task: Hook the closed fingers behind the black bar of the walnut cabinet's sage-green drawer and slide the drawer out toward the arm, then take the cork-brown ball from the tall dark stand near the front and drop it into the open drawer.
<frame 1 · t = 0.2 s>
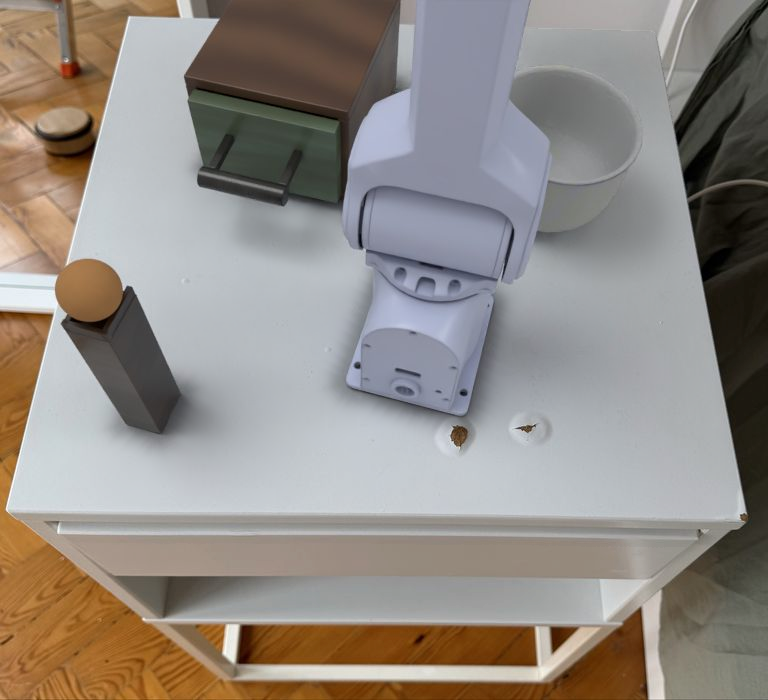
ball: (89, 290, 35), point 13 cm above the nightstand, touching stand
teacup: (518, 198, 56), on the nightstand
cabinet: (305, 125, 59), on the nightstand
drawer: (283, 117, 53), point 4 cm above the nightstand, slide at 0.0 cm
stand: (153, 408, 46), on the nightstand
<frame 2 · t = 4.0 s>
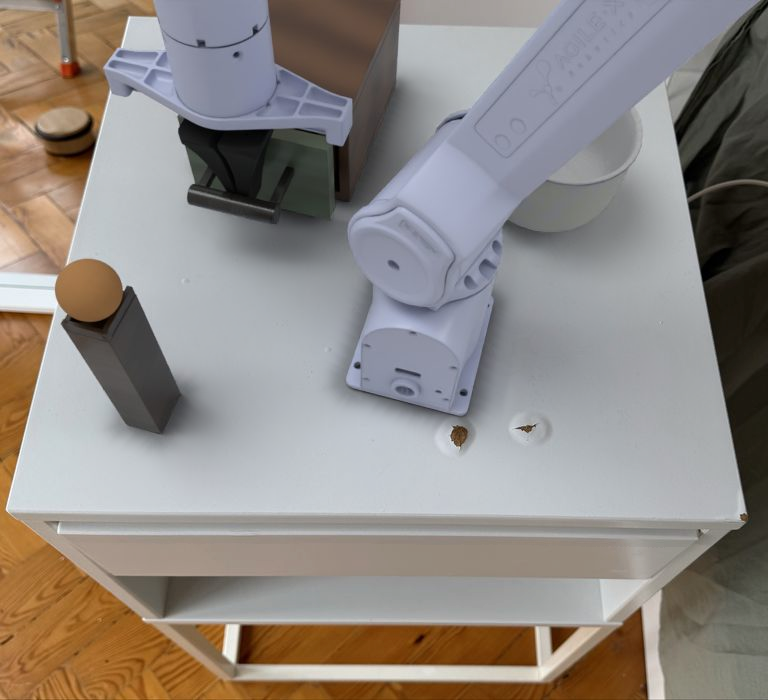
hand: (247, 194, 50), 4 cm above the nightstand, tool pointing down, fingers closed, pressing on drawer
drawer: (276, 132, 52), point 4 cm above the nightstand, slide at 1.7 cm, touching gripper
everything else where it was.
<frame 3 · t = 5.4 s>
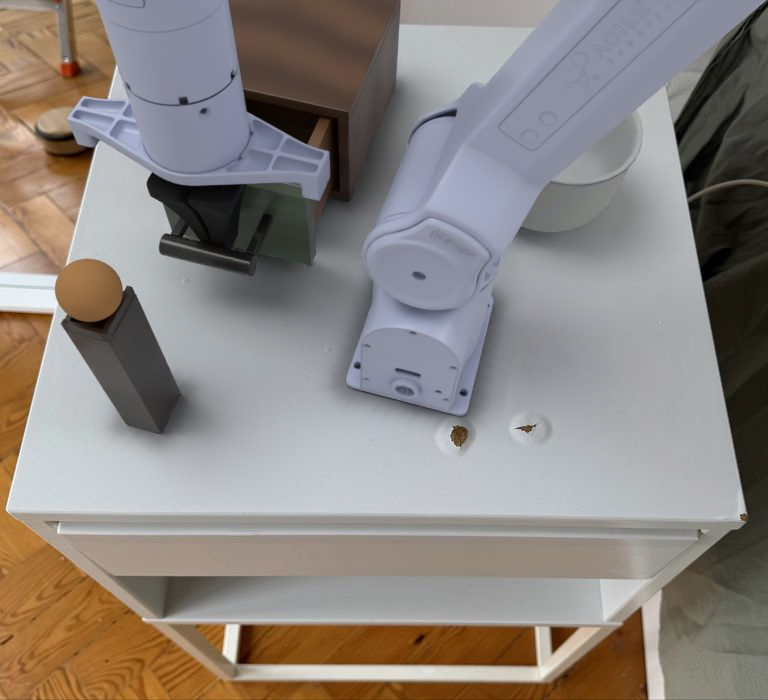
hand: (223, 242, 47), 4 cm above the nightstand, tool pointing down, fingers closed, pressing on drawer
drawer: (254, 175, 50), point 4 cm above the nightstand, slide at 6.0 cm, touching gripper
everything else where it was.
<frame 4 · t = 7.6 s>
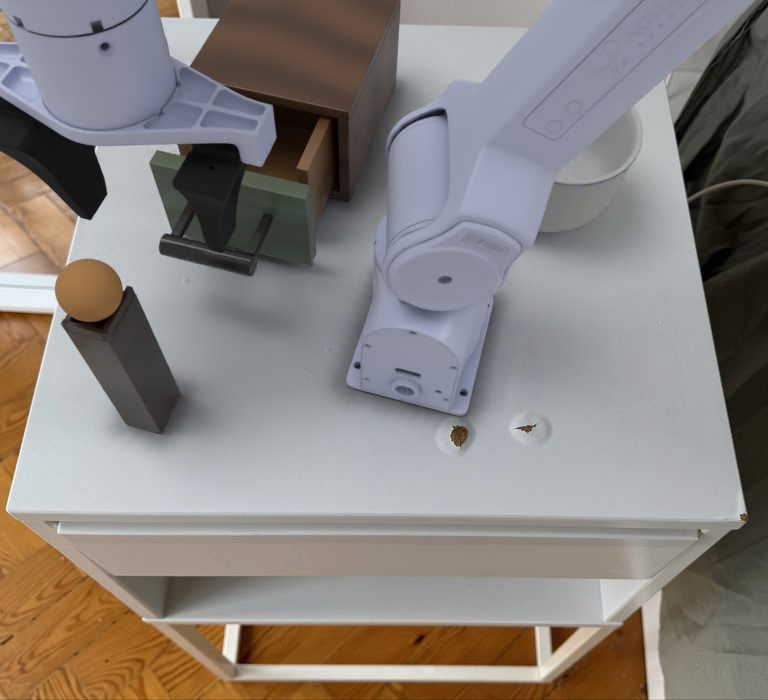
hand: (158, 222, 40), 10 cm above the nightstand, tool pointing down, fingers open, 7 cm apart
drawer: (254, 175, 50), point 4 cm above the nightstand, slide at 6.0 cm
everything else where it was.
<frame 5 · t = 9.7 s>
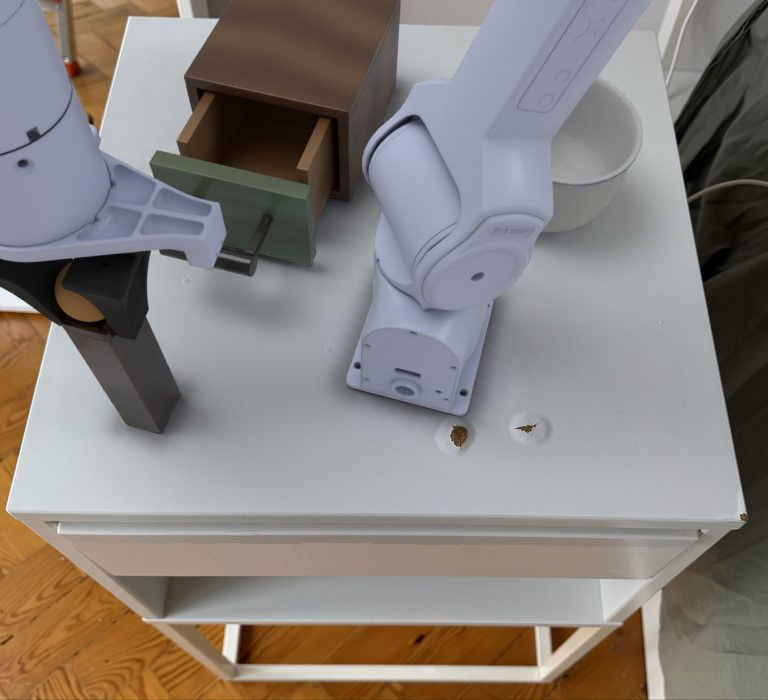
hand: (104, 316, 37), 10 cm above the nightstand, tool pointing down, fingers closed on ball, 3 cm apart
ball: (89, 290, 35), point 13 cm above the nightstand, touching gripper, stand
everything else where it was.
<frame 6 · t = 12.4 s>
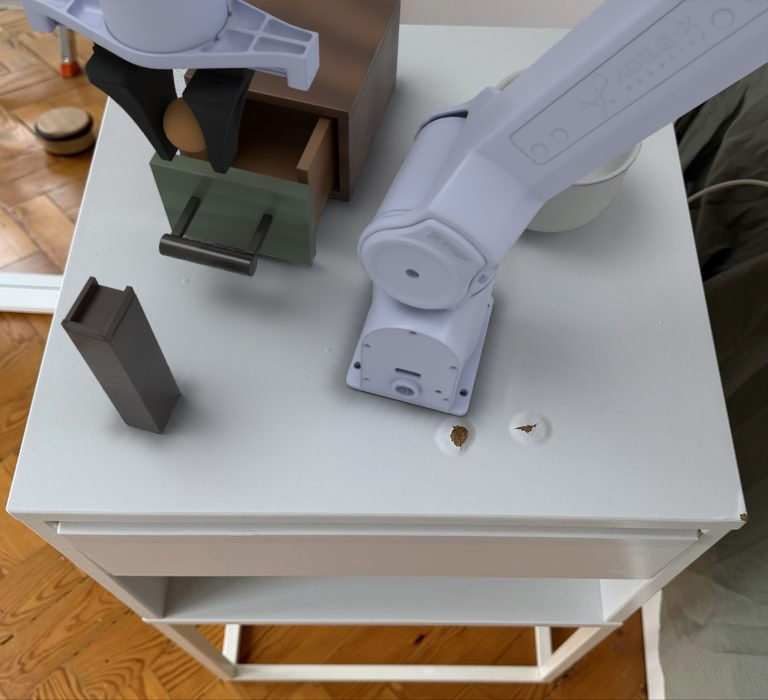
hand: (199, 155, 43), 10 cm above the nightstand, tool pointing down, fingers closed on ball, 3 cm apart
ball: (191, 124, 40), point 13 cm above the nightstand, touching gripper
everything else where it was.
when the fingers open (6 cm above the nightstand, at t = 15.8 s): ball stays where it is, resting on drawer.
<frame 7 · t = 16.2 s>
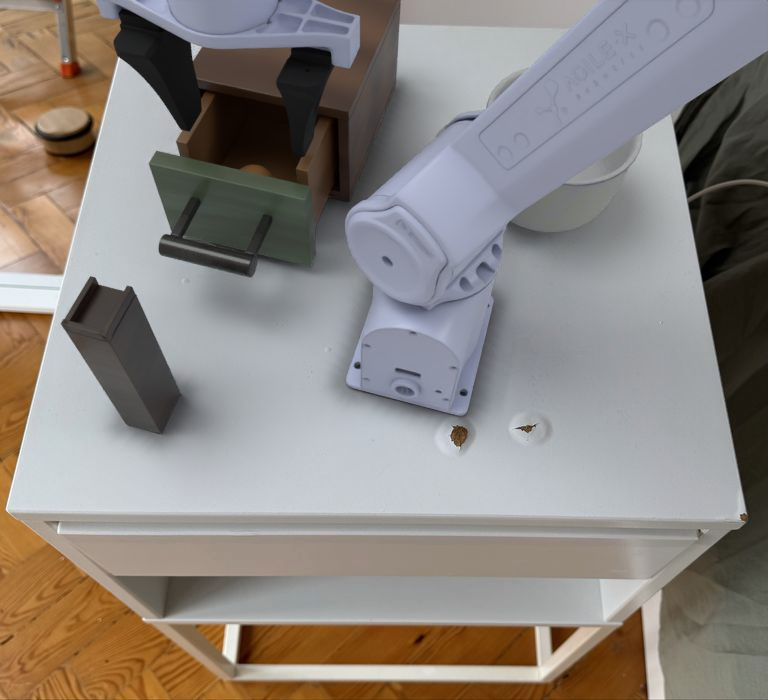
hand: (246, 132, 47), 8 cm above the nightstand, tool pointing down, fingers open, 7 cm apart
ball: (254, 186, 51), point 3 cm above the nightstand, touching drawer
drawer: (254, 176, 50), point 4 cm above the nightstand, slide at 6.1 cm, touching ball
everything else where it was.
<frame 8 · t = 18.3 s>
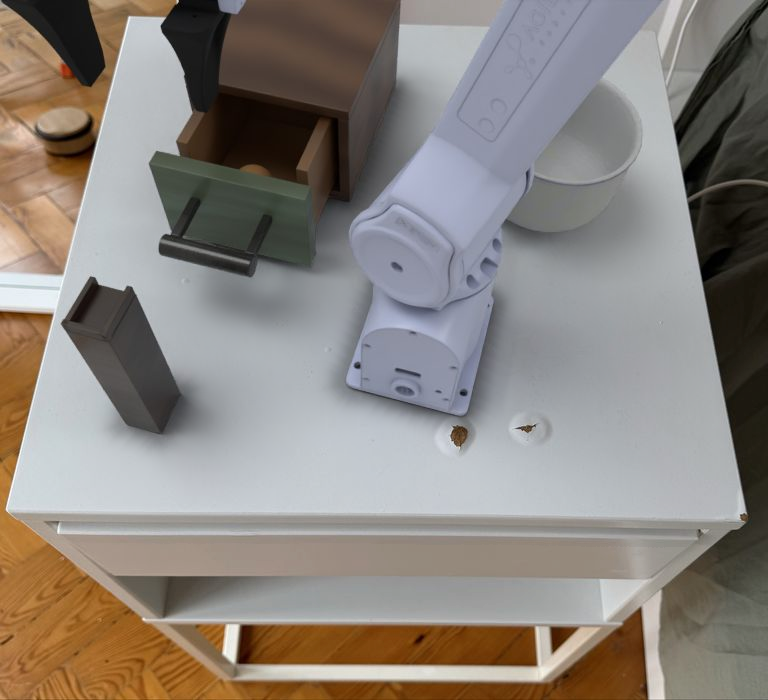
hand: (150, 88, 45), 10 cm above the nightstand, tool pointing down, fingers open, 7 cm apart
nothing on the nightstand moved.
at the end: drawer slide at 6.1 cm; ball inside the target area in the cabinet (6.4 cm from its centre), point 3.5 cm above the cabinet's base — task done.
